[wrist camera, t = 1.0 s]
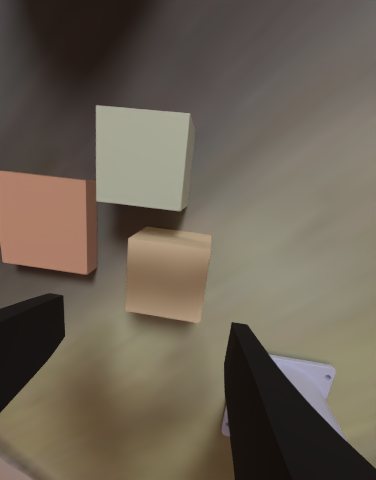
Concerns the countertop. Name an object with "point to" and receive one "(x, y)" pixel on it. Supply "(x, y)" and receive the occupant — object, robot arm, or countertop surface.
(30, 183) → the plinth
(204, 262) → the maple block
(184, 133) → the sage block
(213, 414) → the countertop surface
